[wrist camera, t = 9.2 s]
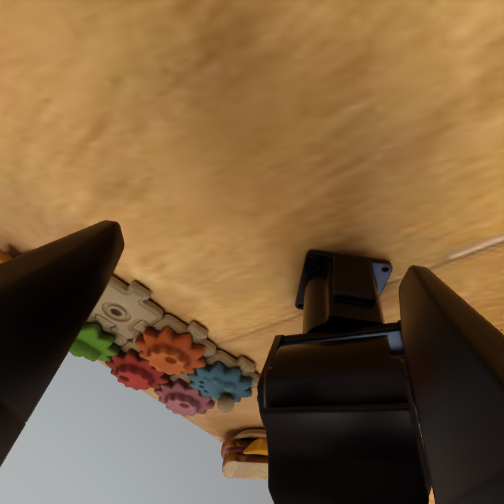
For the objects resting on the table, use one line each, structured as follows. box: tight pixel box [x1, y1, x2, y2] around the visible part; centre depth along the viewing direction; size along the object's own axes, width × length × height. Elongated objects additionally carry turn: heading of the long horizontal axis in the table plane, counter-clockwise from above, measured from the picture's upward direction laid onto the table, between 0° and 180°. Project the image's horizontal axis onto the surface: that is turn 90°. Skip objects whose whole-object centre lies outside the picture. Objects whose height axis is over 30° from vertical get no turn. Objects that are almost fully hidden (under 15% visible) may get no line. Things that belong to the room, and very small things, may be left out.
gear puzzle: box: [0, 250, 260, 416], centre depth 34 cm, size 31×16×4 cm, turn 46°
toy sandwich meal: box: [221, 429, 268, 479], centre depth 48 cm, size 12×14×5 cm
